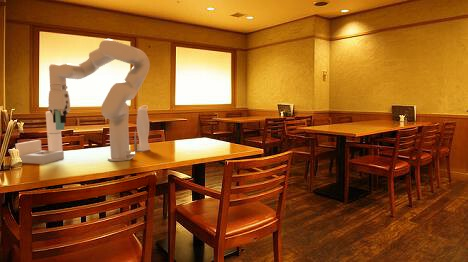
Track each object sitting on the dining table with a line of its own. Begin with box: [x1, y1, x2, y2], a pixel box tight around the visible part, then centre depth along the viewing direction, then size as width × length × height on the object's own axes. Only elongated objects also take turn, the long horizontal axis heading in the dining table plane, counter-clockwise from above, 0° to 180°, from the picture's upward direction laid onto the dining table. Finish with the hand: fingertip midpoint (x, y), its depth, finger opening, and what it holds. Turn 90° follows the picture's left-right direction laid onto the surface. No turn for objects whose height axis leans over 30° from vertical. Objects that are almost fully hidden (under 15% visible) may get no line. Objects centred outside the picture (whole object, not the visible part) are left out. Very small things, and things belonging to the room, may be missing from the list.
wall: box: [14, 139, 42, 156], centre depth 169 cm, size 2×14×10 cm, turn 168°
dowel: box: [55, 110, 65, 131], centre depth 170 cm, size 4×4×10 cm
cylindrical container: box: [45, 111, 64, 151], centre depth 185 cm, size 7×7×25 cm
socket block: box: [20, 149, 65, 165], centre depth 167 cm, size 14×14×4 cm
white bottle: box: [133, 104, 151, 153], centre depth 196 cm, size 8×8×28 cm
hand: (59, 122), depth 170 cm, fingers closed on dowel, 4 cm apart
